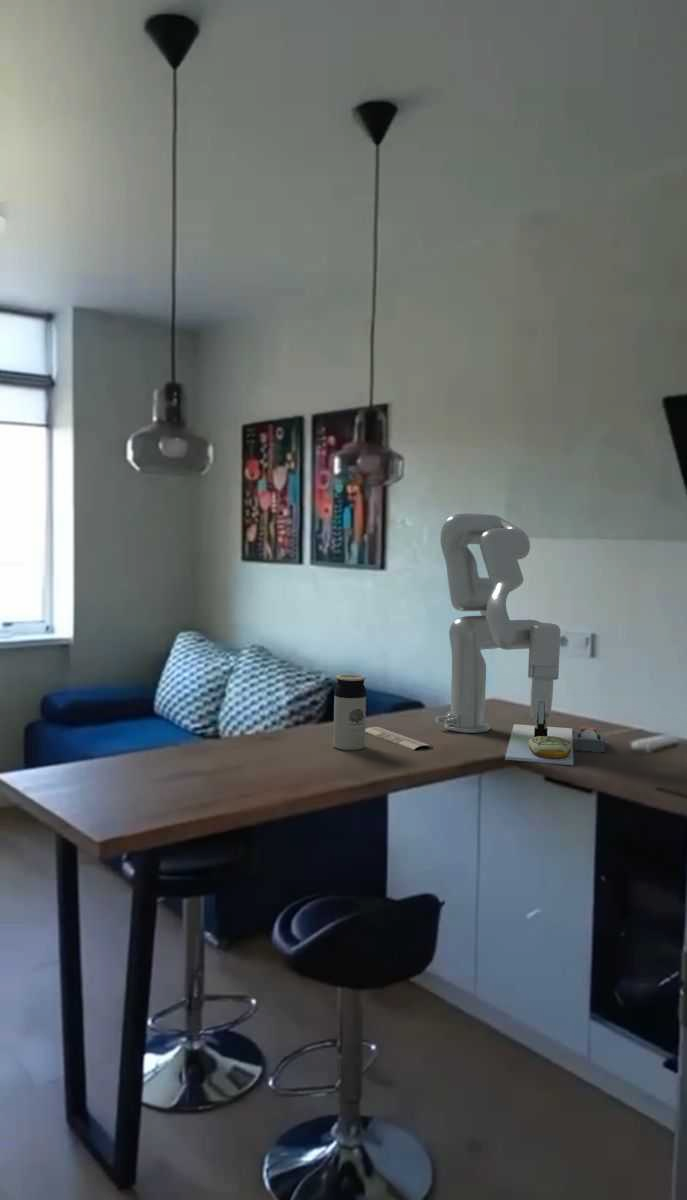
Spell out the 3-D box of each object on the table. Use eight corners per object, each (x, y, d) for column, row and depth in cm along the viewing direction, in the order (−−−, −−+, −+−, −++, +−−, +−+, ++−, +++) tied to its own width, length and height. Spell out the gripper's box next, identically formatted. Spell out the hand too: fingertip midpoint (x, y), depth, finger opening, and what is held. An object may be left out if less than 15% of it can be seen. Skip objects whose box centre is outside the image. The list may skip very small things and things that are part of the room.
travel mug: (329, 743, 229) (331, 674, 228) (360, 742, 231) (361, 673, 230) (337, 751, 221) (339, 679, 220) (368, 750, 223) (370, 678, 222)
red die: (579, 740, 241) (580, 725, 240) (595, 741, 240) (595, 726, 239) (580, 743, 237) (580, 728, 236) (595, 744, 236) (596, 729, 235)
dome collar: (573, 743, 236) (573, 732, 236) (603, 746, 234) (603, 734, 234) (573, 750, 229) (573, 738, 228) (604, 752, 227) (604, 741, 227)
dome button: (579, 743, 234) (579, 726, 234) (597, 744, 233) (598, 728, 233) (579, 747, 230) (580, 730, 229) (598, 748, 229) (598, 732, 228)
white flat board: (513, 727, 255) (514, 724, 255) (571, 731, 251) (572, 728, 251) (505, 759, 217) (505, 756, 217) (573, 765, 213) (573, 761, 213)
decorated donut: (529, 758, 216) (530, 742, 216) (526, 748, 226) (527, 733, 226) (574, 760, 214) (574, 745, 214) (569, 750, 225) (569, 735, 225)
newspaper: (433, 750, 227) (433, 743, 227) (410, 753, 224) (410, 746, 223) (381, 732, 247) (381, 725, 247) (359, 734, 244) (359, 728, 244)
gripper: (529, 667, 234) (526, 736, 236) (527, 675, 220) (524, 749, 221) (558, 668, 233) (555, 738, 234) (558, 677, 218) (555, 751, 220)
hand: (540, 743), depth 228 cm, fingers closed
